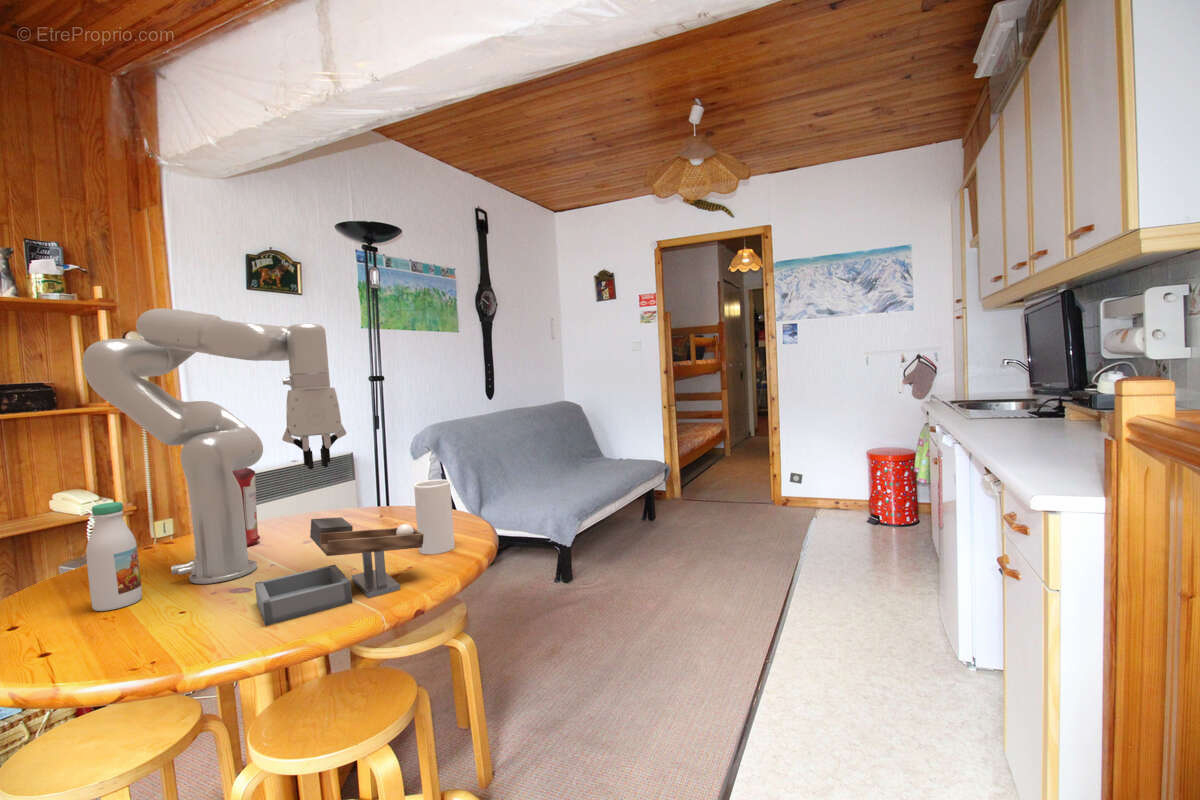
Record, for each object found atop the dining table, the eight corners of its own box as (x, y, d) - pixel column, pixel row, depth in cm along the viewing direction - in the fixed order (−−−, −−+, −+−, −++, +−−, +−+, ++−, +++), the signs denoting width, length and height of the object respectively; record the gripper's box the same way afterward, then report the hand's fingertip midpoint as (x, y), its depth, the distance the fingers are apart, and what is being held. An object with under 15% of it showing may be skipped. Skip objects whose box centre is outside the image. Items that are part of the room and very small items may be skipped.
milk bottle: (101, 615, 110) (89, 510, 109) (85, 608, 114) (74, 507, 113) (149, 600, 116) (139, 501, 115) (133, 593, 120) (123, 498, 119)
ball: (397, 542, 118) (401, 525, 119) (392, 538, 121) (395, 521, 122) (414, 543, 120) (417, 526, 121) (408, 539, 123) (412, 523, 124)
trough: (396, 530, 134) (397, 514, 134) (422, 548, 119) (423, 529, 119) (310, 537, 123) (311, 519, 123) (327, 556, 109) (328, 536, 109)
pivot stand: (368, 598, 111) (364, 556, 110) (351, 580, 121) (348, 542, 121) (400, 589, 114) (397, 549, 114) (381, 572, 125) (378, 535, 124)
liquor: (235, 542, 155) (225, 438, 154) (265, 539, 157) (256, 435, 155) (224, 550, 148) (213, 441, 147) (256, 547, 150) (246, 438, 148)
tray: (265, 625, 101) (263, 603, 100) (257, 603, 111) (255, 582, 111) (352, 602, 109) (350, 581, 109) (336, 583, 120) (335, 564, 119)
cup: (449, 553, 135) (444, 485, 134) (414, 555, 136) (408, 487, 135) (458, 542, 144) (453, 478, 143) (425, 544, 144) (420, 480, 143)
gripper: (270, 384, 117) (278, 475, 118) (354, 379, 126) (361, 464, 127) (265, 384, 123) (273, 471, 124) (346, 380, 132) (352, 460, 134)
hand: (317, 466), depth 126 cm, fingers closed
